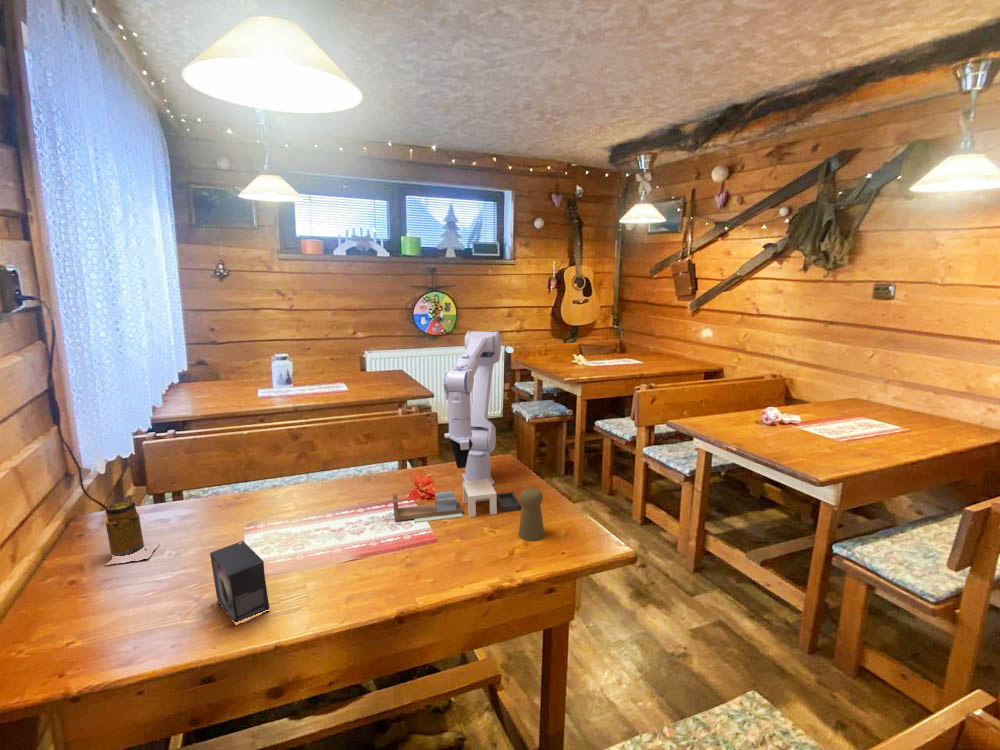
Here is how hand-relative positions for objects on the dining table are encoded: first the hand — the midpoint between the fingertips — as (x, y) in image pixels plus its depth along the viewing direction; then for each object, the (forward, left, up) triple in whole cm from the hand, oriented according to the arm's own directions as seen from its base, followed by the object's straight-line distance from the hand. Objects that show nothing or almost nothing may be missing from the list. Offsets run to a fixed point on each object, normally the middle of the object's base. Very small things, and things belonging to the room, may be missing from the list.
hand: (461, 467), depth 139 cm
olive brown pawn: (+20, +13, -11) cm, 26 cm away
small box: (+32, -47, -11) cm, 58 cm away
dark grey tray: (+3, +11, -10) cm, 16 cm away
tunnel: (+3, +4, -10) cm, 12 cm away
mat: (+3, -7, -10) cm, 13 cm away
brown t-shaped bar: (+3, -9, -10) cm, 14 cm away
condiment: (+6, -75, -11) cm, 76 cm away
